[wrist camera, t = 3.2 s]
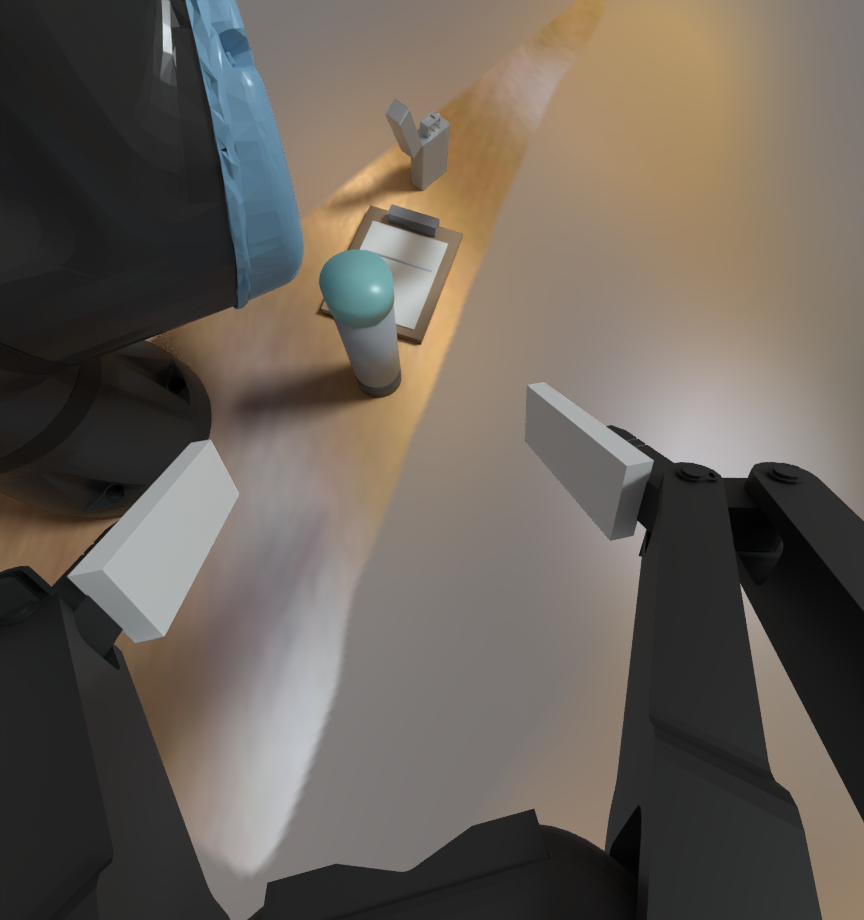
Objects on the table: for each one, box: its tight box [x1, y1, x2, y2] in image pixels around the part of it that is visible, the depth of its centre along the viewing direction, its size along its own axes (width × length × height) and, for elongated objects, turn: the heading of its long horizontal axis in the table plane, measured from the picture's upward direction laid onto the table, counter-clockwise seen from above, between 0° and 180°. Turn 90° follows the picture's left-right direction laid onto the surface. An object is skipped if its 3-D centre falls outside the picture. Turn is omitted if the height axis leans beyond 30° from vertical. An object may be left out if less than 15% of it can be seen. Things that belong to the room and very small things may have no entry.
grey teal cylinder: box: [319, 250, 401, 397], centre depth 26 cm, size 4×4×12 cm
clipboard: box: [321, 205, 463, 344], centre depth 33 cm, size 10×13×2 cm
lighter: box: [386, 99, 450, 191], centre depth 33 cm, size 7×2×8 cm, turn 138°
